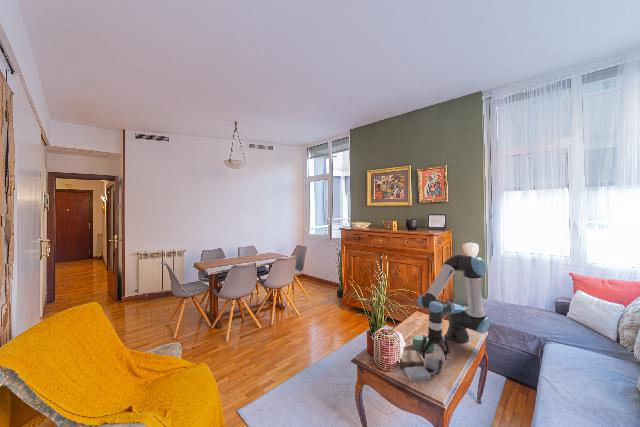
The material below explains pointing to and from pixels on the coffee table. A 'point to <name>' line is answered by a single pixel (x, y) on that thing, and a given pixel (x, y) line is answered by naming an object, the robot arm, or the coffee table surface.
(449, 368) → the coffee table surface
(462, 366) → the coffee table surface
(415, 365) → the walnut riser
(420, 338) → the box
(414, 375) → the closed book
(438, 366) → the ceramic mug
